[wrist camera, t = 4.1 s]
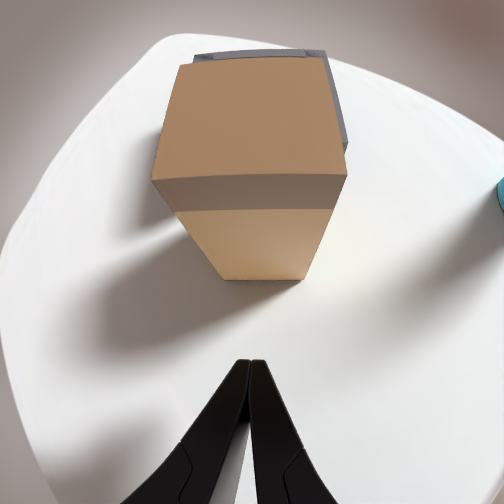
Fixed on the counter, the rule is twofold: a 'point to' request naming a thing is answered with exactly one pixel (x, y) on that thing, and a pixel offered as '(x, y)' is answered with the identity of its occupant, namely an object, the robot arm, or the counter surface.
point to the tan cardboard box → (252, 162)
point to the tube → (501, 192)
